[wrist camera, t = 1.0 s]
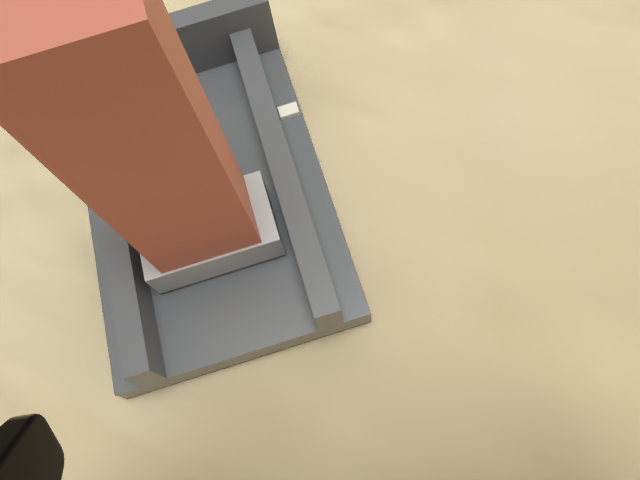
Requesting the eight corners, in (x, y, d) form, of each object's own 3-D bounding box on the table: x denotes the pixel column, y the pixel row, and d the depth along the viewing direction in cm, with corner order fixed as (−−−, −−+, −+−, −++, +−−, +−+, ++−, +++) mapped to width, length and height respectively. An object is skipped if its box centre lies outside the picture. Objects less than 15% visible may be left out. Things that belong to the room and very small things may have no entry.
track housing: (371, 321, 23) (369, 291, 19) (127, 398, 23) (76, 383, 19) (278, 49, 29) (262, -15, 25) (83, 109, 29) (38, 53, 25)
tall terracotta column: (286, 254, 23) (182, 12, 11) (159, 293, 23) (-86, 93, 11) (267, 188, 24) (155, -93, 12) (147, 226, 24) (-86, -22, 12)
